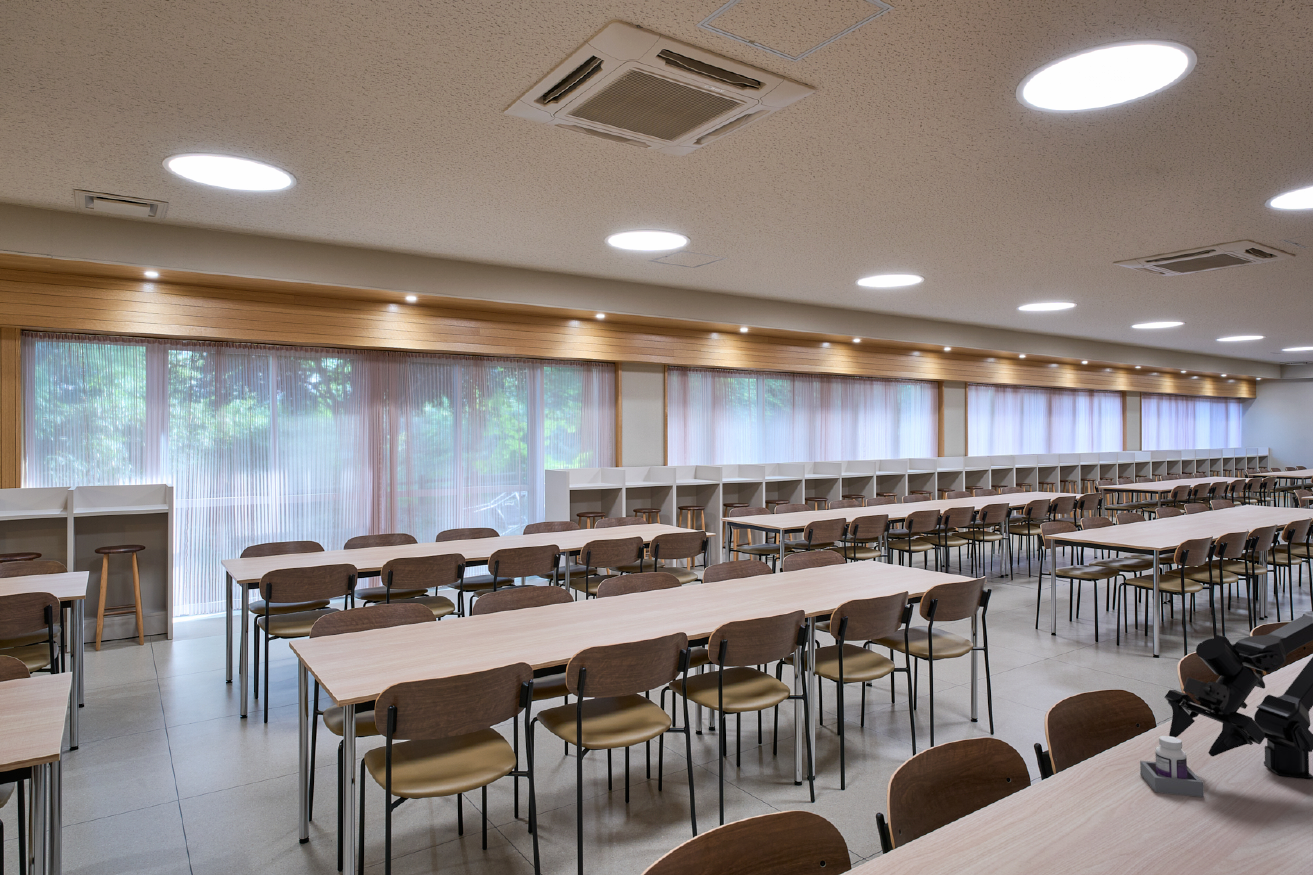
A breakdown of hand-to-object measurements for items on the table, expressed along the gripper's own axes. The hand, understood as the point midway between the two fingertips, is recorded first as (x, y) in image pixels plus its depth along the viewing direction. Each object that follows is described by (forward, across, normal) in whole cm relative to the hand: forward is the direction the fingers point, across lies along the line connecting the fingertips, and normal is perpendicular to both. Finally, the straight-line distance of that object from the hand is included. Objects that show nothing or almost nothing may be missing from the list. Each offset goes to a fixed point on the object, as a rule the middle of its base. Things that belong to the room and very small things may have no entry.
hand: (1190, 745), depth 156 cm
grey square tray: (+9, 0, +2) cm, 9 cm away
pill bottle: (+9, 0, +2) cm, 9 cm away
